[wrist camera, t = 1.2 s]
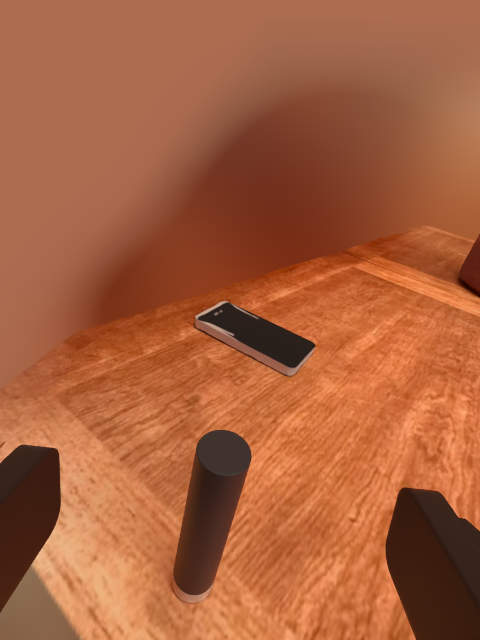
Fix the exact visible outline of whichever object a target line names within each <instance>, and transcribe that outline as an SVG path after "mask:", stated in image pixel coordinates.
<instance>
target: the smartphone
mask: <svg viewBox="0 0 480 640" xmlns="http://www.w3.org/2000/svg"><path fill="white" fill-rule="evenodd" d="M194 326H195V327H196V328H198V329H200V330H202V331H204V332H205V333H207V334H209V335H211V336H213V337H215V338H217V339H219V340H220V341H222V342H224V343H226V344H228V345H230V346H232V347H234V348H235V349H237V350H239V351H241V352H243V353H245V354H247V355H249V356H250V357H252V358H254V359H256V360H258V361H260V362H262V363H264V364H265V365H267V366H269V367H271V368H273V369H275V370H277V371H279V372H280V373H282V374H284V375H287V376H293V375H294V374H295V373H296V372H297V371H298V370H299V369H300V367H301V366H302V365H303V364H304V363H305V362H306V361H307V360H308V359H309V357H310V356H311V355H312V354H313V351H314V348H315V344H314V343H313V342H311V341H309V340H307V339H305V338H303V337H301V336H299V335H297V334H294V333H292V332H290V331H288V330H286V329H284V328H282V327H280V326H278V325H276V324H274V323H271V322H269V321H267V320H265V319H263V318H261V317H259V316H257V315H255V314H253V313H251V312H248V311H246V310H244V309H242V308H240V307H238V306H236V305H234V304H232V303H230V302H225V301H224V302H221V303H219V304H217V305H215V306H213V307H211V308H209V309H207V310H205V311H204V312H202V313H200V314H198V315H196V317H195V323H194Z"/></svg>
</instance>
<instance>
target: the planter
mask: <svg viewBox="0 0 480 640" xmlns="http://www.w3.org/2000/svg"><path fill="white" fill-rule="evenodd" d="M459 275H460V277H461V279H462V280H463V282H464V283H465V284H466V285H467V286H468V287H470V288H471V289H472V290H474V291H475V292H477V293H478V294H480V234H479V236H478V238H477V240H476V242H475V243H474V245H473V247H472V249H471V251H470V252H469V254H468V256H467V258H466V260H465V261H464V263H463V265H462V267H461V270H460V272H459Z"/></svg>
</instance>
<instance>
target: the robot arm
mask: <svg viewBox="0 0 480 640" xmlns="http://www.w3.org/2000/svg"><path fill="white" fill-rule="evenodd" d="M60 506H61V494H60V463H59V453H58V450H57V449H55V448H49V447H39V446H30V445H20V446H18V447H17V448H16V449H15V450H14V451H13V452H12V453H11V454H9V455H8V456H7V457H6V458H5V459H4V460H3V461H2V462H1V463H0V612H1V611H2V609H3V608H4V606H5V604H6V603H7V601H8V600H9V598H10V597H11V595H12V594H13V592H14V591H15V589H16V587H17V586H18V584H19V583H20V581H21V580H22V578H23V577H24V575H25V573H26V572H27V570H28V569H29V567H30V566H31V564H32V563H33V561H34V559H35V558H36V556H37V555H38V553H39V552H40V550H41V549H42V547H43V545H44V544H45V542H46V541H47V539H48V538H49V536H50V535H51V533H52V531H53V529H54V527H55V525H56V522H57V519H58V516H59V512H60ZM386 559H387V565H388V569H389V572H390V575H391V577H392V580H393V582H394V585H395V587H396V590H397V592H398V595H399V597H400V600H401V602H402V605H403V607H404V610H405V613H406V615H407V618H408V620H409V623H410V625H411V628H412V630H413V633H414V635H415V638H416V640H480V531H479V530H478V529H476V528H475V527H474V526H473V525H472V524H471V523H469V522H468V521H467V520H466V519H463V518H458V516H457V515H456V514H455V512H454V511H453V509H452V508H451V506H450V505H449V504H448V502H447V501H446V499H445V498H444V496H443V495H442V494H441V493H440V492H438V491H432V490H423V489H414V488H402V489H401V490H400V492H399V494H398V497H397V501H396V505H395V509H394V513H393V516H392V520H391V524H390V528H389V532H388V535H387V540H386Z"/></svg>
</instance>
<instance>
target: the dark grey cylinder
mask: <svg viewBox="0 0 480 640" xmlns="http://www.w3.org/2000/svg"><path fill="white" fill-rule="evenodd" d="M250 462H251V450H250V447H249V445H248V444H247V442H246V441H245V440H244V439H243V438H242V437H241V436H239V435H238V434H236V433H234V432H231V431H227V430H215V431H211V432H209V433H207V434H205V435H204V436H203V437H202V438H201V439H200V440H199V442H198V444H197V448H196V453H195V458H194V463H193V469H192V474H191V479H190V485H189V490H188V495H187V501H186V506H185V511H184V517H183V522H182V527H181V532H180V538H179V543H178V548H177V554H176V559H175V564H174V570H173V575H172V586H173V589H174V592H175V594H176V595H177V596H178V597H179V598H180V599H181V600H182V601H184V602H187V603H198V602H200V601H202V600H204V599H205V598H206V597H207V596H208V595H209V593H210V591H211V589H212V586H213V583H214V580H215V576H216V573H217V570H218V567H219V563H220V560H221V557H222V554H223V550H224V547H225V544H226V541H227V537H228V534H229V531H230V527H231V524H232V521H233V518H234V514H235V511H236V508H237V505H238V501H239V498H240V495H241V492H242V488H243V485H244V482H245V478H246V475H247V472H248V469H249V465H250Z"/></svg>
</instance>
